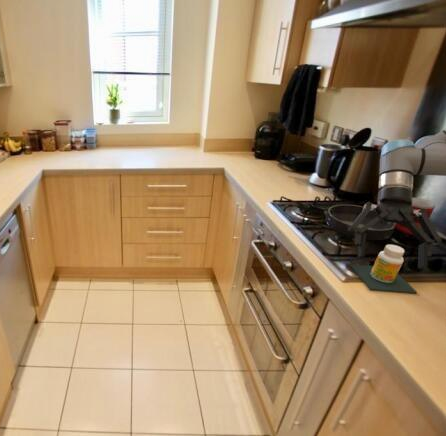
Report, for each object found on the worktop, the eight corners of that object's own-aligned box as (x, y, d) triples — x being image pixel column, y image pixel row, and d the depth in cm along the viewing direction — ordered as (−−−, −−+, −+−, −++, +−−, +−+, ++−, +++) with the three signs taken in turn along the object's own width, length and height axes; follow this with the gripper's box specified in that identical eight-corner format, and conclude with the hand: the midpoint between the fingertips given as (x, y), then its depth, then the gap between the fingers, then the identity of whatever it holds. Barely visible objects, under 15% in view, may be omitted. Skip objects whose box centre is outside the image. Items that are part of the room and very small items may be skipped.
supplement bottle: (368, 277, 89) (380, 248, 84) (372, 269, 92) (384, 240, 87) (391, 286, 85) (406, 256, 81) (395, 277, 89) (409, 248, 84)
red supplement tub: (420, 228, 113) (433, 200, 108) (423, 237, 107) (437, 208, 102) (393, 222, 117) (405, 195, 112) (394, 231, 111) (407, 203, 106)
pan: (372, 215, 123) (376, 205, 121) (405, 242, 105) (410, 232, 103) (316, 212, 126) (319, 203, 124) (339, 238, 108) (343, 228, 106)
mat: (391, 268, 93) (391, 267, 93) (416, 294, 83) (417, 292, 83) (350, 266, 94) (351, 264, 94) (370, 290, 85) (370, 288, 85)
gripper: (442, 202, 90) (441, 275, 84) (339, 190, 99) (333, 255, 94) (460, 191, 83) (460, 270, 78) (348, 180, 92) (341, 249, 87)
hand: (390, 262), depth 86 cm, fingers open, 13 cm apart
